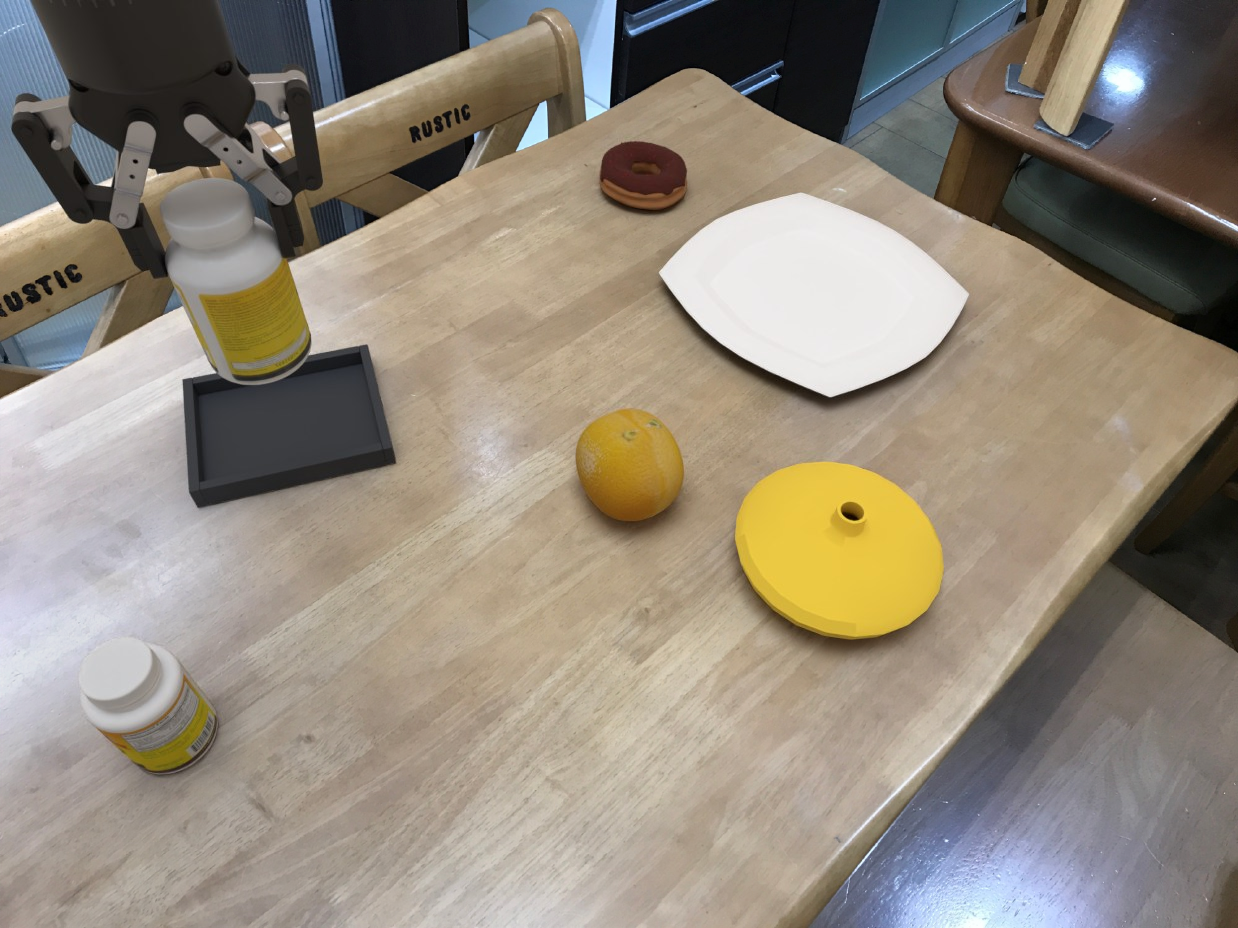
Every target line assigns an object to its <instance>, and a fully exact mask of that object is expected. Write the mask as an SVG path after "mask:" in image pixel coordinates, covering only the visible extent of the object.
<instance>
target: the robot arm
mask: <svg viewBox="0 0 1238 928" xmlns="http://www.w3.org/2000/svg"><path fill="white" fill-rule="evenodd" d="M29 1H30V3H31V6H32V8H33V9H34V13H35V14H36V17H37V18H38V21H39V24H40V25H41V27H42V29H43V31H44V33H45V35H46V38H47V40H48V42H49V45H50V47H51V48H52V50H53V53H54V55H55V58H56V60H57V61H58V63H59V66H60V69H61V70H62V72H63V74H64V77H65V78H66V80H67V83H68V88H69V91H68V95H63V96H57V97H54V98H48V99H41V98H40V97H39V96H37V95H36V94H33V93H30V92H23V93H20V94H18V95H17V96H16V98H15V101H14V107H13V113H12V120H11V126H10V128H11V133H12V135H13V136H14V138H15V140H16V141H17V142H18V144H19V146H20V147H21V148H22V150H23V152H24V153H25V154H26V156H27V157H28V159H29V161H30V162H31V163H32V165H33V166H34V168H35V169H36V171H37V172H38V174H39V175H40V177H41V178H42V180H43V181H44V183H45V185H46V186H47V187H48V189H49V190H50V192H51V193H52V195H53V196H54V198H55V199H56V201H57V202H58V204H59V205H60V207H61V209H62V210H63V211H64V213H65V215H66V216H67V217H68V219H69V220H70V221H71V222H73V223H75V224H79V225H87V224H89V223H91V222H92V221H94V220H95V221H102V222H106V223H109V224H110V225H112V226H114V228H116V230H117V232H118V234H119V236H120V238H121V240H122V242H123V244H124V246H125V249H126V250H127V252H128V255H129V257H130V259H131V260H132V263H133V265H134V267H136V268H137V269H139V271H141V272H148V271H149V272H150V275H151V276H152V278H153V279H154V280H157V279H163V278H165V279H166V278H168V277H169V275H168V272H167V269H166V266H165V252H166V249H165V247H164V245H163V243H162V240H161V239H160V236H159V234H158V232H157V229H156V227H155V226H154V222H153V221H152V217H151V216H150V214H149V211H148V209H147V207H146V205H145V203H144V202H141V199H142V197H143V196H144V195H143V194H144V189H145V186H146V181H147V176H148V172H149V169H150V170H155V172H156V174H157V175H162V174H168V173H175V172H177V171H179V170H182V169H184V168H187V167H192V168H205V169H206V168H212V167H220V166H221V165H222V164H221V163H224V164H225V165H226V166H227V167H228V168H229V169H230V170H231V171H232V172H234V174H235V175H236V176H238V177H239V178H240V179H241V180H242V181H244V182H246V183H248V182H249V183H251V185H253V186H254V187H255V188H256V189H257V190H258V191H259V192H261V193H262V194H263V195H264V196H265V197H266V203H267V210H268V213H269V216H270V220H271V222H272V226H273V229H274V230H275V232H276V235H277V238H278V241H279V244H280V247H281V250H282V254H283V257H284V258H287V259H290V258H296V257H297V250H296V248H299V247H304V243H305V235H304V229H303V224H302V221H301V217H300V214H299V210H298V206H297V203H296V199H295V198H296V196H297V195H299V194H300V193H301V192H303V191H305V190H306V191H310V192H315V191H318V190H319V189H321V188H322V186H323V184H324V179H323V172H322V164H321V157H320V151H319V143H318V136H317V131H316V130H317V128H316V123H315V116H314V107H313V102H312V96H311V91H310V86H309V82H308V77H307V73H306V70H305V69H304V67H303V66H302V65H300V64H298V63H295V62H290V63H287V64H285V65H283V67H282V69H281V72H271V73H251V72H250V71H249V69H248V68H247V67H246V66H244V64H243V63H242V62H241V61H240V59H239V58H238V57H237V55H236V53H235V51H234V48H233V45H232V41H231V38H230V36H229V35H230V34H229V32H228V29H227V26H226V22H225V18H224V15H223V12H222V10H221V6H220V3H219V0H29ZM256 101H260V102H263V103H265V104H266V105H267V106H268V107H269V109H270V112H271V113H272V115H273V116H274V117H275V118H276V119H278V120H281V121H284V122H288V121H289V128H290V133H291V139H292V145H293V151H294V156H292V157H290V158H288V159H286V160H284V161H281V159H279V158H278V157H277V156H276V155H275V154H274V152H272V150H270V149H269V148H268V147H267V146H266V145H265V143H264V142H263V141H262V139H261V137H260V135H259V134H258V133H257V132H256V131H255V130H254V129H253V128H252V127H251V125H249V123H247V122H248V120H249V117H250V115H251V113H252V111H253V109H254V106H255V104H256ZM76 123H77V125H78V126H80V127H81V128H82V129H83V130H85V131H87V132H89V133H90V134H91V135H93V136H94V137H96V138H97V139H99V140H101V141H102V142H104V143H105V144H106V145H108V146H110V147H111V148H112V149H114V150H115V151H116V154H115V162H114V170H113V173H112V178H111V183H110V186H108V185H100V184H94V183H93V181H92V180H91V178H90V176H89V175H88V173H87V172H86V170H85V168H84V167H83V164H82V163H81V161H80V159H79V158H78V157H77V155H76V153H75V152H74V150H73V148H72V147H71V145H72V139H73V128H72V125H74V124H76Z"/></svg>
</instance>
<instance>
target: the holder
mask: <svg viewBox="0 0 1238 928" xmlns="http://www.w3.org/2000/svg"><path fill="white" fill-rule="evenodd" d="M181 381H182V397H183V399H182V400H183V414H184V431H185V448H186V464H187V465H186V466H187V483H188V493H189V495H190V496H191V499H192V500H193V502H194V505H195V506H196V508H202V507H207V506H211V505H216V504H221V503H225V502H229V501H234V500H239V499H243V498H247V497H252V496H257V495H261V494H265V493H269V492H274V491H278V490H283V489H287V488H292V487H296V486H302V485H305V484H309V483H314V482H319V481H324V480H327V479H332V478H336V477H341V476H344V475H345V476H346V475H350V474H354V473H359V472H364V471H368V470H372V469H376V468H382V467H385V466H389V465H394V464H397V460H396V455H395V451H394V447H393V443H392V439H391V434H390V431H389V427H388V422H387V419H386V413H385V411H384V406H383V405H384V404H383V402H382V398H381V393H380V389H379V386H378V385H379V384H378V381H377V378H376V372H375V369H374V364H373V360H372V357H371V352H370V348H369V344H367V343H366V344H360V345H355V346H350V347H345V348H340V349H334V350H329V351H324V352H319V353H313V354H309V355H308V357H307V359H306V360H305V362H304V363H303V364H302V365H301V366H300V367H299V368H298V369H297V370H296V371H295V372H293V373H292V374H290V375H288V376H287V377H285V378H283V379H280V380H278V381H275V382H271V383H267V384H261V385H243V384H238V383H234V382H231V381H229V380H227V379H225V378H223V377H221V376H220V375H219V374H218V373H216V372H213V373H209V374H203V375H199V376H192V377H185V378H183V379H182V380H181Z"/></svg>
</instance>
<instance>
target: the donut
mask: <svg viewBox="0 0 1238 928" xmlns="http://www.w3.org/2000/svg"><path fill="white" fill-rule="evenodd" d="M598 174H599V175H598V178H599V185H600V186H599V187H600V188H601V190H602V191H603V193H605V195H607V196H608V197H610V198H611V199H613V200H615V201H616V202H618V203H621V204H623V205H626V206H628V207H631V208H636V209H640V210H648V211H658V210H662V209H666V208H669V207H671V206H672V205H674V204H676V203H678V202H679V201H680V200H681V199H682V198H683V197H684V195H685V194H686V192H687V187H688V181H687V180H688V179H687V176H688V168H687V166H686V162H685V160H684V159H683V157H682V156H681V155H680V154H679V153H677V152H675V151H674V150H672V149H670V148H668V147H667V146H663V145H659V144H656V143H653V142H648V141H640V140H639V141H638V140H634V141H632V140H631V141H624V142H623V141H621V142H620V143H619V144H616V145H614V146H613V147H611V148H609V149H608V150H607V151H606V152H604V154H603V156H602V159H601V164H600V170H599V173H598Z"/></svg>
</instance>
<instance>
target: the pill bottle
mask: <svg viewBox="0 0 1238 928" xmlns="http://www.w3.org/2000/svg"><path fill="white" fill-rule="evenodd" d="M159 214H160V217H161V219H162V222H163V225H164V227H165V230H166V232H167V233H168V235H169V237H170V239H169V241H168V243H167V246H166V248H165V266H166V269H167V272H168V277H169V279H170V281H171V284H172V286H173V288H174V290H175V292H176V294H177V297H178V299H179V301H180V303H181V305H182V307H183V309H184V311H185V313H186V314H185V315H186V316H187V318H188V320H189V322H190V324H191V326H192V329H193V330H194V334H195V335H196V337H197V340H198V342H199V344H200V346H201V348H202V350H203V352H204V355H205V356H206V359H207V361H208V364H209V365H210V366H211V368H212V369H213V371H214V373H218V374H219V375H220V376H221V377H223V378H225V379H227V380H229V381H231V382H234V383H238V384H243V385H261V384H267V383H271V382H275V381H278V380H280V379H283V378H285V377H287V376H288V375H290V374H292V373H293V372H295V371H296V370H297V369H298V368H299V367H300V366H301V365H302V364H303V363H304V362H305V360H306V359H307V357H308V355H310V353H311V350H312V343H313V342H312V341H313V340H312V334H311V330H310V327H309V323H308V321H307V317H306V315H305V312H304V308H303V306H302V305H303V304H302V302H301V299H300V295H299V292H298V289H297V286H296V285H297V284H296V283H295V279H294V277H293V273H292V270H291V267H290V263H289V262H288V258H284V257H283V254H282V250H281V247H280V244H279V241H278V238H277V235H276V232H275V229H274V227H272V225H270V224H268V223H267V222H266V221H265V220H263V219H261V218H259V217H257V216H256V213H255V208H254V206H253V202H252V200H251V197H250V195H249V193H248V191H247V189H246V188H245V187H244V186H243V185H241V184H240V183H238V182H236V181H234V180H232V179H227V178H222V177H221V178H220V177H207V178H200V179H199V178H198V179H195V180H191V181H187V182H185V183H182V184H180V185H178V186H176V187H175V188H173V189H171V190H169V192H168V193H167V194H166V195H165V196H164V197H163V199H161V202H160V205H159Z"/></svg>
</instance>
